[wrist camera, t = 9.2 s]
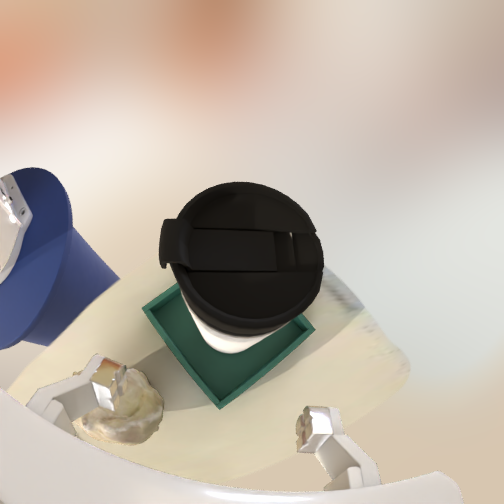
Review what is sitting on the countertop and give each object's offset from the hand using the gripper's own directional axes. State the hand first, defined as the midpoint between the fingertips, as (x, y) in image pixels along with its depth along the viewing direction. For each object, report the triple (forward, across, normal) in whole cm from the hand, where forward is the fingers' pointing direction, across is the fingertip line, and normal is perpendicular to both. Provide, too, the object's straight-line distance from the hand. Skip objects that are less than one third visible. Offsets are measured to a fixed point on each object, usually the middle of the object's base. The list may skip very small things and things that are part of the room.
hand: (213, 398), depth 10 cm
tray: (+16, 0, +8) cm, 18 cm away
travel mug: (+16, 0, +8) cm, 18 cm away
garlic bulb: (+8, +9, +16) cm, 20 cm away
